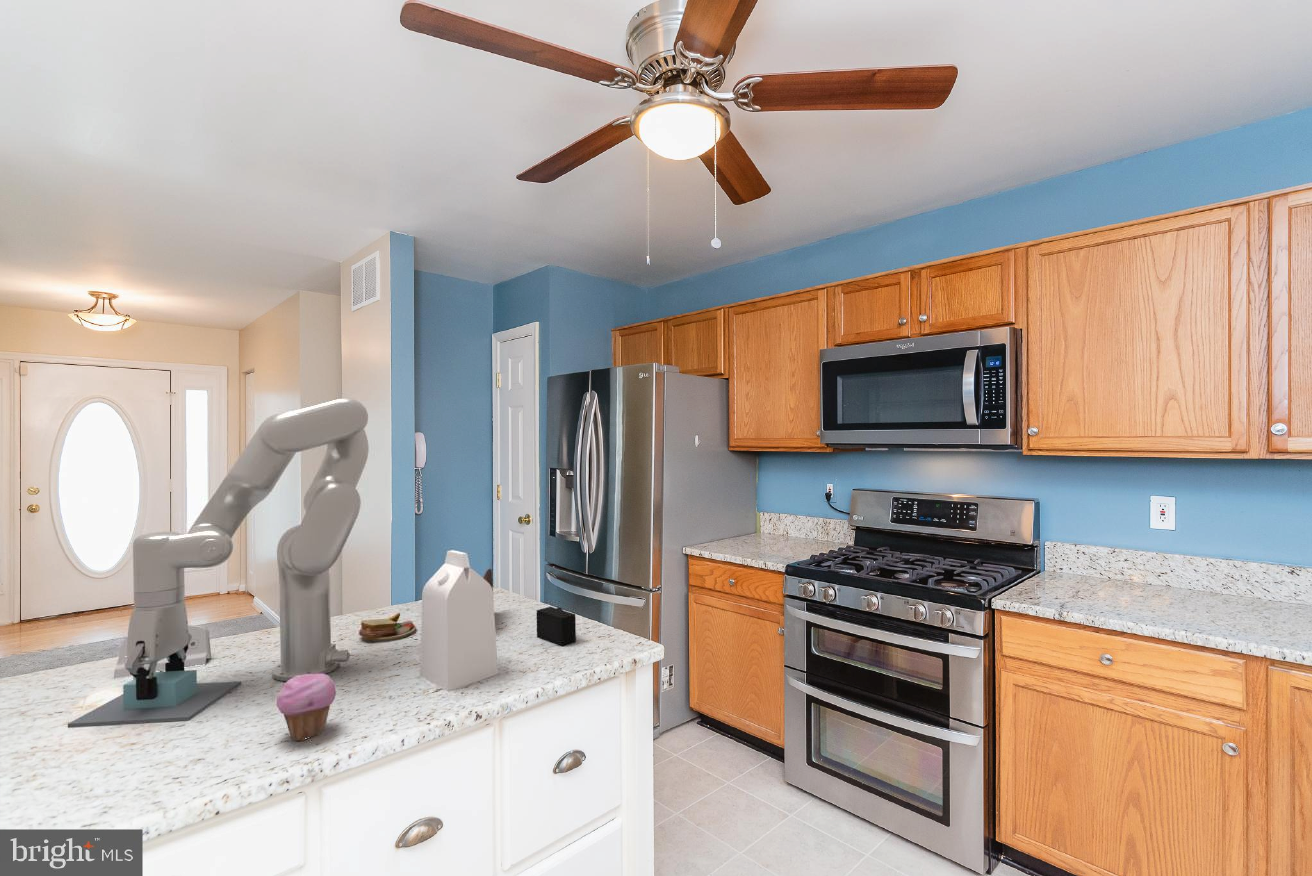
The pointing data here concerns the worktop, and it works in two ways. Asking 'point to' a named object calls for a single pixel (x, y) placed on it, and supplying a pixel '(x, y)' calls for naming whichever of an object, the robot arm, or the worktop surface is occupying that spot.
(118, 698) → the mat
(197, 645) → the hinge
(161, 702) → the card box
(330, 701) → the cupcake
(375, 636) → the toy sandwich meal
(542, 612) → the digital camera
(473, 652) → the milk
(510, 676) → the worktop surface
